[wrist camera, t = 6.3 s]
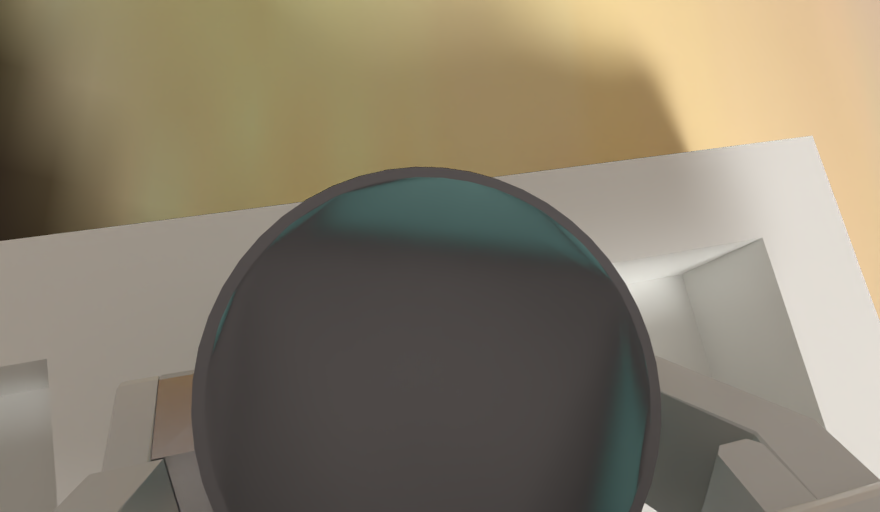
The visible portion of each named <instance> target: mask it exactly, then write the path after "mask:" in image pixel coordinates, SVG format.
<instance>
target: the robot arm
mask: <svg viewBox="0 0 880 512" xmlns="http://www.w3.org/2000/svg"><path fill="white" fill-rule="evenodd" d="M655 360H656V364H657V370H658V377H659V385H660V392H661V432H660V442H659V452H658V457H657V462H656V466H655V471H654V475H653V480H652V484H651V487H650V489H649V492H648V495H647V498H646V501H645V503H646V504H647V505H648V506H650V507H651V508H653V509H654V510H656V511H657V512H880V479H879V478H878V477H876V476H875V475H874V474H873V473H872V472H871V471H870V470H869V469H868V468H867V467H866V466H865V465H864V464H862V463H861V462H860V461H859V460H858V459H857V458H856V457H855V456H854V455H853V454H852V453H851V452H849V451H848V450H847V449H846V448H845V447H844V446H843V445H842V444H841V443H840V442H839V441H838V440H837V439H835V438H834V437H833V436H832V435H831V434H830V433H829V432H828V431H827V430H826V429H825V428H824V427H822V426H821V425H820V424H819V423H818V422H817V421H816V420H815V419H812V418H810V417H807V416H805V415H802V414H800V413H797V412H795V411H792V410H790V409H787V408H785V407H782V406H780V405H777V404H775V403H773V402H770V401H768V400H765V399H763V398H760V397H758V396H755V395H753V394H750V393H748V392H745V391H743V390H740V389H738V388H735V387H733V386H730V385H728V384H725V383H723V382H720V381H718V380H715V379H713V378H710V377H708V376H705V375H703V374H700V373H698V372H695V371H693V370H690V369H688V368H686V367H683V366H681V365H678V364H676V363H673V362H671V361H668V360H666V359H663V358H661V357H658V356H655ZM193 375H194V370H189V371H183V372H176V373H170V374H164V375H161V376H153V377H148V378H142V379H136V380H130V381H125V382H121V384H120V385H119V386H118V388H117V389H116V394H115V399H114V405H113V410H112V416H111V421H110V427H109V432H108V438H107V443H106V449H105V454H104V460H103V465H102V471H101V472H98V473H93V474H89V475H88V476H87V477H86V478H85V479H84V480H83V481H82V482H81V483H80V484H79V485H78V486H77V487H76V488H75V489H74V490H73V491H72V492H71V493H70V494H69V495H68V496H67V497H66V498H65V500H64V501H63V502H62V503H61V504H60V505H59V506H58V507H57V508H56V509H55V510H54V511H53V512H213V509H212V507H211V504H210V502H209V499H208V497H207V494H206V492H205V489H204V486H203V484H202V480H201V475H200V471H199V467H198V463H197V459H196V454H195V450H194V440H193V430H192V420H191V405H192V381H193Z"/></svg>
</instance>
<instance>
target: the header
mask: <svg viewBox="0 0 880 512" xmlns="http://www.w3.org/2000/svg"><path fill="white" fill-rule="evenodd" d="M492 178H495V179H498V180H501V181H503V182H506V183H508V184H511V185H513V186H516V187H518V188H520V189H523V190H525V191H527V192H528V193H530V194H532V195H534V196H536V197H537V198H539V199H541V200H543V201H545V202H546V203H548V204H549V205H551V206H552V207H554V208H555V209H556V210H558V211H559V212H561V213H562V214H563V215H565V216H566V217H567V218H569V219H570V220H571V221H572V222H573V223H575V224H576V225H577V226H578V227H579V228H580V229H581V230H582V231H583V232H584V233H586V234H587V235H588V236H589V237H590V238H591V239H592V240H593V241H594V243H595V244H596V245H597V246H598V247H599V248H600V250H601V251H602V252H603V253H604V254H605V255H606V256H607V258H608V259H609V260H610V261H611V263H612V264H613V266H614V267H615V269H616V270H617V272H618V273H619V275H620V276H621V278H622V279H623V280H624V282H625V283H626V285H627V287H628V289H629V291H630V293H631V295H632V297H633V299H634V301H635V302H636V304H637V306H638V308H639V310H640V313H641V316H642V318H643V321H644V323H645V326H646V329H647V331H648V334H649V337H650V340H651V344H652V348H653V352H654V356H658V357H661V358H663V359H666V360H668V361H671V362H673V363H676V364H678V365H681V366H683V367H686V368H688V369H690V370H693V371H695V372H698V373H700V374H703V375H705V376H708V377H710V378H713V379H715V380H718V381H720V382H723V383H725V384H728V385H730V386H733V387H735V388H738V389H740V390H743V391H745V392H748V393H750V394H753V395H755V396H758V397H760V398H763V399H765V400H768V401H770V402H773V403H775V404H777V405H780V406H782V407H785V408H787V409H790V410H792V411H795V412H797V413H800V414H802V415H805V416H807V417H810V418H812V419H815V420H816V421H817V422H818V423H819V424H820V425H821V426H822V427H824V428H825V429H826V430H827V431H828V432H829V433H830V434H831V435H832V436H833V437H834V438H835V439H837V440H838V441H839V442H840V443H841V444H842V445H843V446H844V447H845V448H846V449H847V450H848V451H849V452H851V453H852V454H853V455H854V456H855V457H856V458H857V459H858V460H859V461H860V462H861V463H862V464H864V465H865V466H866V467H867V468H868V469H869V470H870V471H871V472H872V473H873V474H874V475H875V476H876V477H878V478H879V479H880V321H879V318H878V315H877V313H876V310H875V307H874V304H873V302H872V299H871V296H870V293H869V291H868V288H867V285H866V282H865V280H864V277H863V274H862V271H861V268H860V266H859V263H858V260H857V257H856V255H855V252H854V249H853V246H852V244H851V241H850V238H849V235H848V233H847V230H846V227H845V224H844V222H843V219H842V216H841V213H840V211H839V208H838V205H837V202H836V200H835V197H834V194H833V191H832V189H831V186H830V183H829V180H828V178H827V175H826V172H825V169H824V167H823V164H822V161H821V158H820V155H819V153H818V150H817V147H816V144H815V142H814V139H813V136H807V137H799V138H791V139H784V140H776V141H768V142H761V143H753V144H745V145H737V146H730V147H722V148H714V149H707V150H699V151H691V152H683V153H676V154H668V155H660V156H653V157H645V158H637V159H630V160H622V161H614V162H606V163H599V164H591V165H583V166H576V167H568V168H560V169H552V170H545V171H537V172H529V173H522V174H514V175H506V176H499V177H492ZM301 203H302V202H298V203H290V204H283V205H275V206H267V207H260V208H252V209H244V210H237V211H229V212H221V213H213V214H206V215H198V216H190V217H183V218H175V219H167V220H159V221H152V222H144V223H136V224H129V225H121V226H113V227H106V228H98V229H90V230H82V231H75V232H67V233H59V234H52V235H44V236H36V237H28V238H21V239H13V240H5V241H0V512H53V511H54V510H55V509H56V508H57V507H58V506H59V505H60V504H61V503H62V502H63V501H64V500H65V498H66V497H67V496H68V495H69V494H70V493H71V492H72V491H73V490H74V489H75V488H76V487H77V486H78V485H79V484H80V483H81V482H82V481H83V480H84V479H85V478H86V477H87V476H88V475H89V474H93V473H98V472H101V471H102V465H103V460H104V454H105V449H106V443H107V438H108V432H109V427H110V421H111V416H112V410H113V405H114V399H115V394H116V389H117V388H118V386H119V385H120V384H121V382H125V381H130V380H136V379H142V378H148V377H153V376H161V375H164V374H170V373H176V372H183V371H189V370H195V364H196V358H197V352H198V347H199V344H200V341H201V338H202V335H203V332H204V329H205V325H206V322H207V319H208V316H209V314H210V312H211V310H212V308H213V306H214V303H215V301H216V299H217V297H218V295H219V293H220V291H221V289H222V287H223V285H224V284H225V282H226V281H227V279H228V277H229V276H230V274H231V273H232V271H233V270H234V268H235V267H236V265H237V263H238V262H239V260H240V259H241V258H242V257H243V256H244V255H245V253H246V252H247V251H248V250H249V249H250V247H251V246H252V245H253V244H254V243H255V242H256V240H257V239H258V238H259V237H260V236H261V235H262V234H263V233H264V232H265V231H267V230H268V229H269V228H270V227H271V226H272V225H273V224H274V223H275V222H276V221H278V220H279V219H280V218H281V217H282V216H283V215H285V214H286V213H288V212H289V211H291V210H292V209H294V208H295V207H296V206H298V205H299V204H301ZM642 512H657V511H656V510H654V509H653V508H651V507H650V506H648V505H647V504H646V503H644V506H643V509H642Z"/></svg>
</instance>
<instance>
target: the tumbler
mask: <svg viewBox="0 0 880 512" xmlns="http://www.w3.org/2000/svg"><path fill="white" fill-rule="evenodd" d="M191 420H192V430H193V440H194V450H195V454H196V459H197V463H198V467H199V471H200V475H201V480H202V484H203V486H204V489H205V492H206V494H207V497H208V499H209V502H210V504H211V507H212V509H213V512H642V509H643V506H644V503H645V501H646V498H647V495H648V492H649V489H650V487H651V484H652V480H653V475H654V471H655V466H656V462H657V457H658V452H659V442H660V432H661V392H660V385H659V377H658V370H657V364H656V360H655V356H654V352H653V348H652V344H651V340H650V337H649V334H648V331H647V329H646V326H645V323H644V321H643V318H642V316H641V313H640V310H639V308H638V306H637V304H636V302H635V301H634V299H633V297H632V295H631V293H630V291H629V289H628V287H627V285H626V283H625V282H624V280H623V279H622V278H621V276H620V275H619V273H618V272H617V270H616V269H615V267H614V266H613V264H612V263H611V261H610V260H609V259H608V258H607V256H606V255H605V254H604V253H603V252H602V251H601V250H600V248H599V247H598V246H597V245H596V244H595V243H594V241H593V240H592V239H591V238H590V237H589V236H588V235H587V234H586V233H584V232H583V231H582V230H581V229H580V228H579V227H578V226H577V225H576V224H575V223H573V222H572V221H571V220H570V219H569V218H567V217H566V216H565V215H563V214H562V213H561V212H559V211H558V210H556V209H555V208H554V207H552V206H551V205H549V204H548V203H546V202H545V201H543V200H541V199H539V198H537V197H536V196H534V195H532V194H530V193H528V192H527V191H525V190H523V189H520V188H518V187H516V186H513V185H511V184H508V183H506V182H503V181H501V180H498V179H495V178H492V177H488V176H484V175H481V174H477V173H473V172H469V171H462V170H456V169H449V168H436V167H410V168H400V169H390V170H384V171H380V172H375V173H371V174H367V175H362V176H358V177H356V178H353V179H350V180H348V181H345V182H342V183H339V184H337V185H334V186H332V187H330V188H328V189H326V190H324V191H322V192H320V193H318V194H316V195H314V196H312V197H310V198H308V199H307V200H305V201H304V202H302V203H301V204H299V205H298V206H296V207H295V208H294V209H292V210H291V211H289V212H288V213H286V214H285V215H283V216H282V217H281V218H280V219H279V220H278V221H276V222H275V223H274V224H273V225H272V226H271V227H270V228H269V229H268V230H267V231H265V232H264V233H263V234H262V235H261V236H260V237H259V238H258V239H257V240H256V242H255V243H254V244H253V245H252V246H251V247H250V249H249V250H248V251H247V252H246V253H245V255H244V256H243V257H242V258H241V259H240V260H239V262H238V263H237V265H236V267H235V268H234V270H233V271H232V273H231V274H230V276H229V277H228V279H227V281H226V282H225V284H224V285H223V287H222V289H221V291H220V293H219V295H218V297H217V299H216V301H215V303H214V306H213V308H212V310H211V312H210V314H209V316H208V319H207V322H206V325H205V329H204V332H203V335H202V338H201V341H200V344H199V347H198V352H197V358H196V364H195V370H194V375H193V381H192V405H191Z"/></svg>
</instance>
